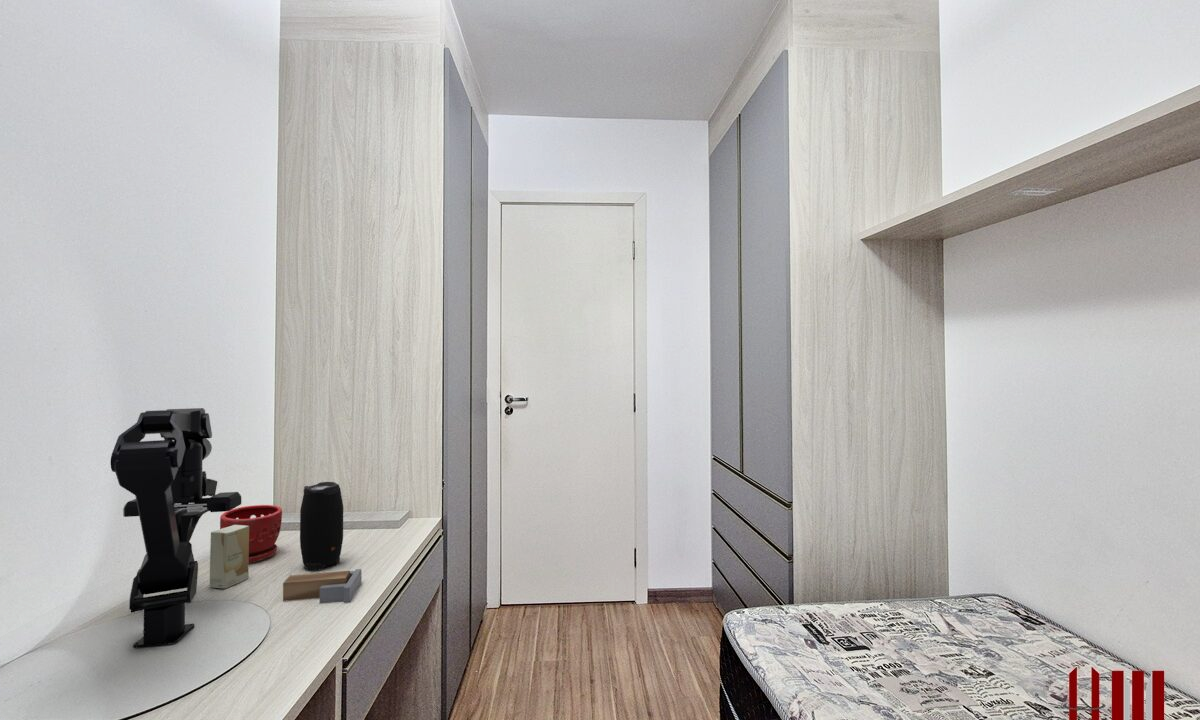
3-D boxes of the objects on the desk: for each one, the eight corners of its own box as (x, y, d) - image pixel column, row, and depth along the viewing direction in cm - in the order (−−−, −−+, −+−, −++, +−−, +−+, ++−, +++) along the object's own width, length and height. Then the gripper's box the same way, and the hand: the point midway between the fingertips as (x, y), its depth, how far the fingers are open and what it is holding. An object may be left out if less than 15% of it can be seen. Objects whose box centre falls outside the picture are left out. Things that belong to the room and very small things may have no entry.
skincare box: (225, 589, 114) (225, 533, 114) (208, 588, 115) (208, 532, 115) (250, 578, 120) (250, 524, 120) (234, 576, 121) (234, 523, 121)
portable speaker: (346, 565, 127) (346, 485, 127) (302, 575, 122) (303, 491, 122) (338, 555, 134) (339, 479, 134) (297, 564, 128) (297, 484, 128)
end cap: (349, 602, 108) (349, 587, 108) (318, 604, 107) (318, 590, 107) (361, 582, 118) (361, 568, 118) (332, 584, 116) (332, 571, 116)
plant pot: (208, 570, 125) (209, 519, 125) (235, 550, 138) (235, 505, 138) (269, 565, 128) (269, 516, 128) (289, 547, 140) (290, 502, 141)
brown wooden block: (345, 596, 111) (345, 577, 111) (283, 602, 108) (283, 583, 108) (350, 588, 115) (350, 570, 115) (290, 594, 112) (290, 575, 112)
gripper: (253, 460, 117) (252, 530, 117) (157, 464, 113) (156, 536, 113) (228, 470, 106) (228, 547, 106) (121, 474, 102) (121, 554, 102)
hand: (184, 545), depth 107 cm, fingers closed
